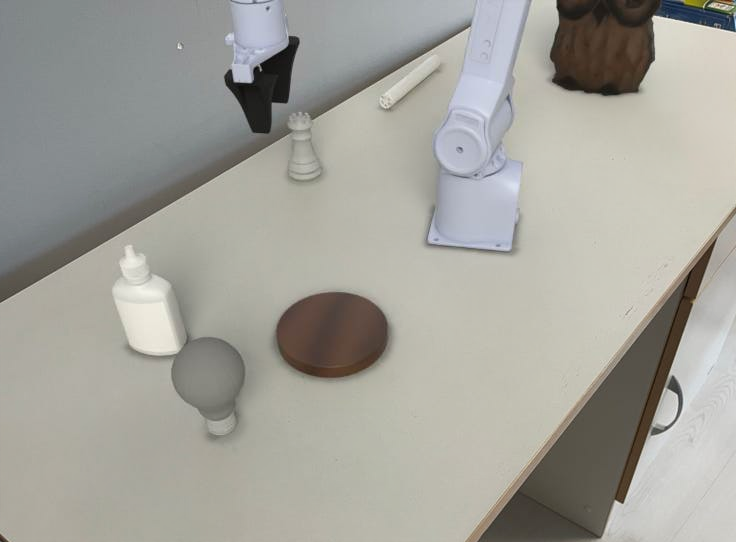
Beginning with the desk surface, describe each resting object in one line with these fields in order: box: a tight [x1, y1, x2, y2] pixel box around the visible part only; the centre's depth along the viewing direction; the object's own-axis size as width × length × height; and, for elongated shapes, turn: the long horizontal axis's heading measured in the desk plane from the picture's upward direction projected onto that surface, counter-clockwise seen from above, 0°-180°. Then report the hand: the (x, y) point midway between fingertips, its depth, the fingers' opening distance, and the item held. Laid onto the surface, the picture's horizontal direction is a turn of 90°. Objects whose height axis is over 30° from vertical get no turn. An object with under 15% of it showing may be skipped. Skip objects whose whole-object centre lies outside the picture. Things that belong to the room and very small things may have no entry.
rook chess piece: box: [287, 111, 322, 183], centre depth 91 cm, size 4×4×8 cm
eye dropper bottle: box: [111, 244, 188, 357], centre depth 68 cm, size 4×6×12 cm
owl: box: [549, 0, 663, 97], centre depth 103 cm, size 13×13×20 cm
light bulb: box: [170, 336, 246, 436], centre depth 60 cm, size 6×6×10 cm
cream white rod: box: [379, 54, 442, 110], centre depth 111 cm, size 18×2×2 cm, turn 148°
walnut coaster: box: [275, 291, 389, 379], centre depth 71 cm, size 11×11×2 cm
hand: (270, 116), depth 85 cm, fingers open, 7 cm apart
